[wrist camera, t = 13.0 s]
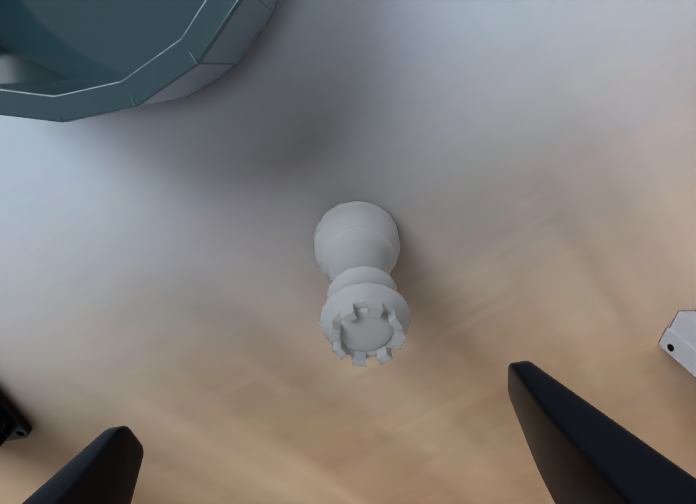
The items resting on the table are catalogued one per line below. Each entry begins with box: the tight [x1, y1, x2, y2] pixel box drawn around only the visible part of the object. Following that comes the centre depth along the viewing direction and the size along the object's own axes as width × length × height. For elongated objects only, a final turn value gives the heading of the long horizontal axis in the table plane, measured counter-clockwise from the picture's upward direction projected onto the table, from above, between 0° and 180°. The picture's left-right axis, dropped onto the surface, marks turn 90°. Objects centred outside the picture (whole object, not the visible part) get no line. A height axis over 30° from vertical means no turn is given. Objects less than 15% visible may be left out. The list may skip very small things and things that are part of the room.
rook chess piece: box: [313, 201, 411, 367], centre depth 16 cm, size 4×4×8 cm
